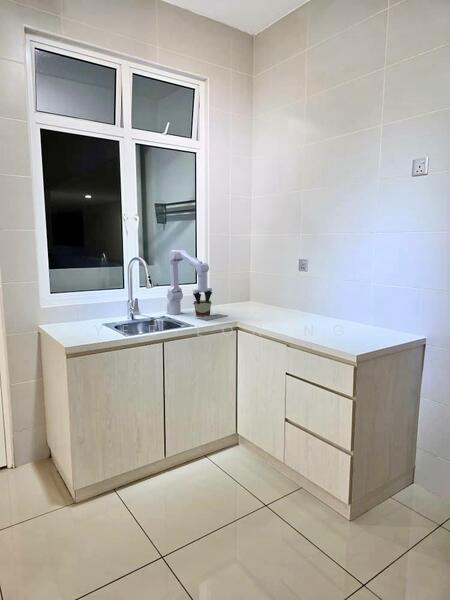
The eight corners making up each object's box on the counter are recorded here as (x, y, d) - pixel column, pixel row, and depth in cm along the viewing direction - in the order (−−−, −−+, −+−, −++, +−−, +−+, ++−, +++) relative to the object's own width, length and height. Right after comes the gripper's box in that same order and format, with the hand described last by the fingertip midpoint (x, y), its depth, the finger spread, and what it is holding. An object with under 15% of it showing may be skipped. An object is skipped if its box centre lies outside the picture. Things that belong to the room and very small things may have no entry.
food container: (213, 314, 264) (212, 299, 263) (212, 315, 258) (211, 300, 257) (195, 314, 266) (194, 300, 265) (193, 316, 260) (193, 301, 259)
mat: (196, 318, 253) (196, 318, 253) (217, 314, 267) (217, 313, 267) (206, 320, 246) (206, 320, 246) (228, 316, 260) (228, 315, 260)
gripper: (198, 283, 239) (198, 305, 241) (215, 281, 250) (215, 302, 252) (190, 282, 244) (191, 304, 246) (207, 281, 255) (207, 301, 257)
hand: (202, 303), depth 249 cm, fingers open, 7 cm apart
